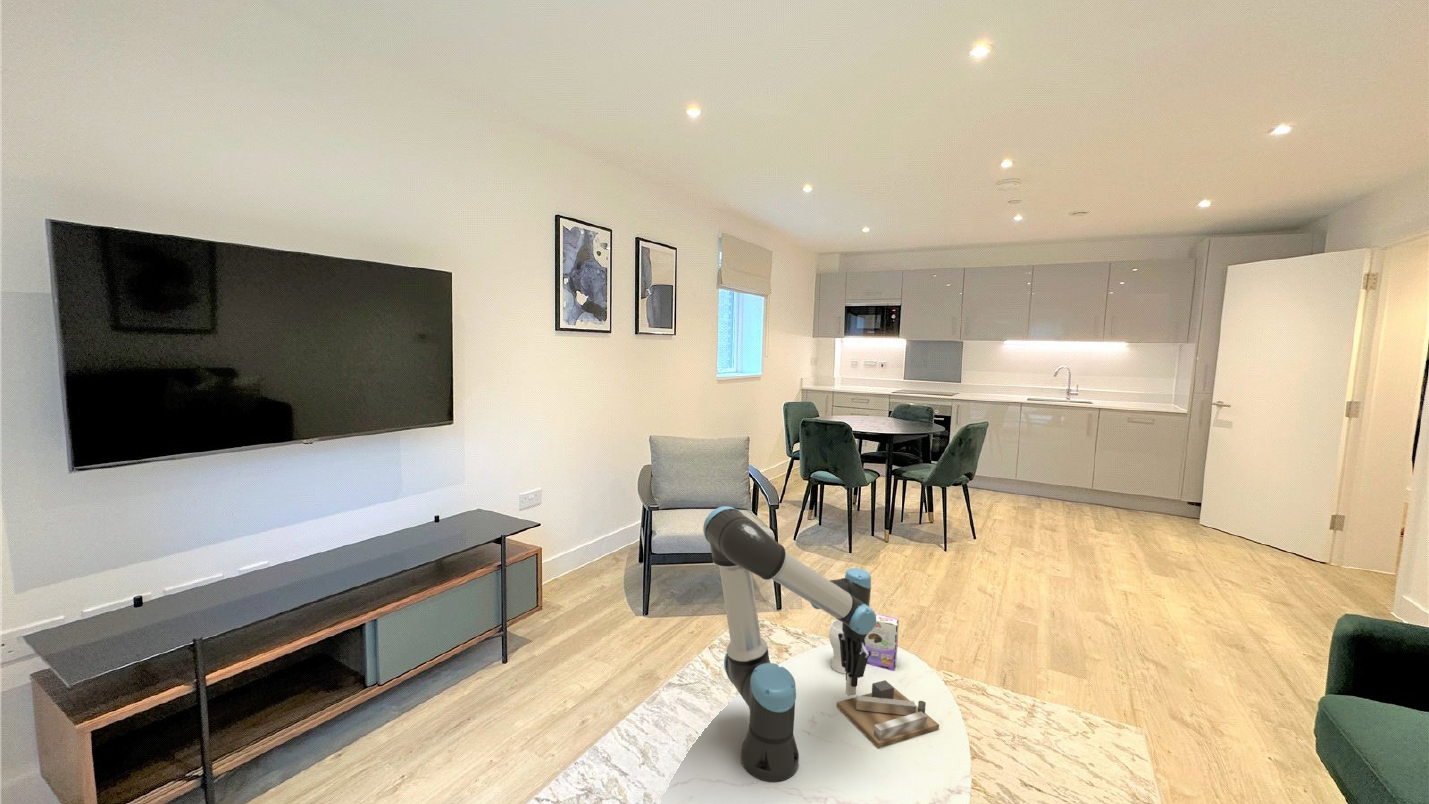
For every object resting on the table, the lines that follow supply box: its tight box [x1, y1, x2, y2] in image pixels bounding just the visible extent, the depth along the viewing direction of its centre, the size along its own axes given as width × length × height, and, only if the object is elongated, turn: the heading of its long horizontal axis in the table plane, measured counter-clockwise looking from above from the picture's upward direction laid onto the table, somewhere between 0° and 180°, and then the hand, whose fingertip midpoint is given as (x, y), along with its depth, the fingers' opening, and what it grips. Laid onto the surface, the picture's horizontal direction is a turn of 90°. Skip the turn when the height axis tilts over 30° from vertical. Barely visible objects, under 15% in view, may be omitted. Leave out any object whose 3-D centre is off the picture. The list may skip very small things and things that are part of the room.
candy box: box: [865, 613, 900, 671], centre depth 193 cm, size 14×6×16 cm, turn 65°
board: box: [836, 687, 940, 750], centre depth 164 cm, size 22×19×6 cm
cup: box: [828, 619, 846, 674], centre depth 189 cm, size 11×11×15 cm
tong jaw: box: [855, 695, 917, 715], centre depth 165 cm, size 17×2×3 cm, turn 84°
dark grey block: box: [871, 680, 895, 699], centre depth 170 cm, size 5×4×4 cm
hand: (850, 693), depth 170 cm, fingers closed
